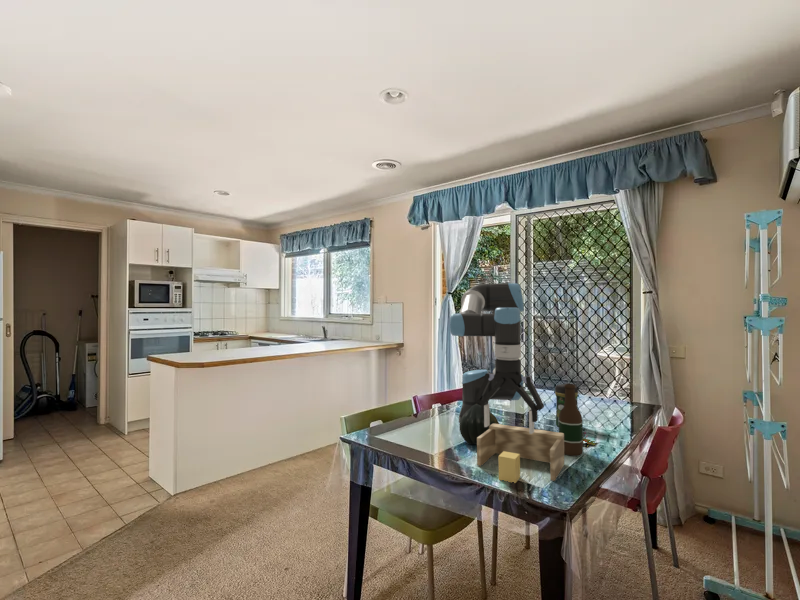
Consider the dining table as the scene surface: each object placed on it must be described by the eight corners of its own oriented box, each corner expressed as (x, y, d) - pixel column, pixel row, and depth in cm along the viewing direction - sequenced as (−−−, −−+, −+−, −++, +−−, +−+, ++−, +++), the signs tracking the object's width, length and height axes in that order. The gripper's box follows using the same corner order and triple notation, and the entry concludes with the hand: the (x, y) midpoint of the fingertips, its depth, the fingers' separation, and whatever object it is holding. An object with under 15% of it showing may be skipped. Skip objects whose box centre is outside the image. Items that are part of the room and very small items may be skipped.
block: (498, 479, 123) (498, 456, 123) (503, 474, 127) (503, 451, 128) (515, 483, 121) (515, 459, 121) (520, 477, 125) (519, 453, 125)
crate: (477, 465, 134) (476, 434, 135) (493, 451, 148) (492, 423, 148) (554, 480, 122) (554, 446, 122) (564, 463, 136) (563, 433, 136)
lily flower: (588, 451, 149) (588, 438, 150) (558, 443, 159) (558, 431, 159) (605, 445, 157) (605, 432, 157) (575, 437, 166) (575, 426, 166)
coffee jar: (565, 422, 186) (565, 381, 187) (582, 426, 180) (581, 383, 180) (552, 426, 181) (551, 383, 182) (568, 430, 174) (567, 386, 175)
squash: (490, 438, 146) (496, 400, 155) (450, 433, 153) (459, 398, 163) (499, 456, 155) (505, 419, 164) (462, 451, 162) (469, 416, 171)
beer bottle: (571, 457, 142) (570, 387, 142) (554, 450, 149) (553, 383, 150) (588, 454, 145) (586, 385, 146) (570, 447, 152) (569, 382, 153)
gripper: (464, 357, 128) (465, 426, 128) (548, 362, 115) (549, 439, 115) (473, 355, 135) (474, 420, 134) (553, 359, 122) (554, 432, 121)
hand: (508, 429), depth 125 cm, fingers open, 13 cm apart
